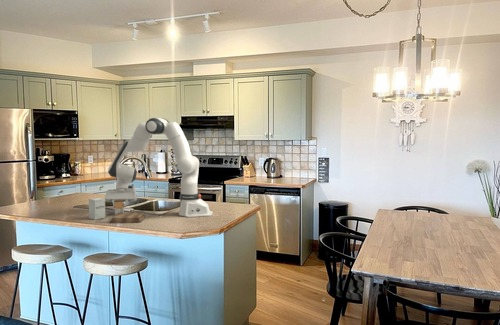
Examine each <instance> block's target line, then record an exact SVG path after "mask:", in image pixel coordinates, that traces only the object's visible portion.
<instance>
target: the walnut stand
mask: <svg viewBox="0 0 500 325" xmlns="http://www.w3.org/2000/svg"><path fill="white" fill-rule="evenodd" d="M145 218H146V214H144V212H124V213H118V214H116V215H115V214H114V216H112V217H111V219H110V220H109V224H140V223H142V222H143V221H144V219H145Z"/></svg>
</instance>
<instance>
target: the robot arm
mask: <svg viewBox="0 0 500 325" xmlns="http://www.w3.org/2000/svg"><path fill="white" fill-rule="evenodd" d="M152 135H164V136H166V138H167V140H168V142H169V145H170V147H171V148H172V151H173V154H174V157H175V161H176V164H177V165H176V166H177V170H178V171H179V173H181V180H180V194H179V201H180V206H179V212H178V216H181V217H186V218H198V217H211V216H212V215H213V211H212V210H210V207H209V204H208V203H207V202H206V201H204V200H203V199H202V195H201V193H199V190H198V183H199V182H198V180H199V179H198V178H199V170H200V169H199V168H200V160H199V158H198V157H197V156H194V155H192V152H191V149H190V144H189V141H188V140H187V137H186V136H185V133H184V131H183V130H182V128H181V126H180V124H179V123H178V122H176V121H169V120H168V119H166V118H163V117H151V118H149V119H147V121H146V122H144V121H143V122H140V123H138V125H137V126H136V128H135V130H134V131H133V135H132V137H131V138H130V139H129V140H127V141H125V142H124V143H123V144H122V146H121V147H120V149H119V151H118V153H117V154H116V156H114V157H115V158H114V159H113V160H112V163H110V165H108V169H107V172H108V175H109V176H110V177H111V178H117V183H116V186H115V188H114V189H108V190H106V193H105V196H104V199H105V203H112V206H113V208H115V202H116V201H124V203H123V207H124V208H126V206H127V205H128V203H130V202H132V203H134V202H136V201H137V198H138V197H137V196H138V195H137V191H136V187H135V186H134V185H131V183H133V182H134V181H135V180H136V178H137V174H138V171H137V169H136V168H135V167H133V166H130V165H127V164H123V163H121V162H122V160H123V159H124V157H125V155H126V154H128V153H131V152H141V151H144V150H145V149H147V147H148V146H149V142H150V141H151V137H152Z"/></svg>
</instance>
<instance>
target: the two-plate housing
mask: <svg viewBox="0 0 500 325" xmlns="http://www.w3.org/2000/svg"><path fill="white" fill-rule="evenodd" d="M123 203H125V202H124V201H116V202H115V207H114V216H115V215H116V214H118V213H125V207H123Z"/></svg>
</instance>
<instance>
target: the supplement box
mask: <svg viewBox="0 0 500 325" xmlns="http://www.w3.org/2000/svg"><path fill="white" fill-rule="evenodd" d="M88 218H89V219H90V220H99V219H105V218H106V200H105V197H95V198H94V197H92V198H88Z"/></svg>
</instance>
